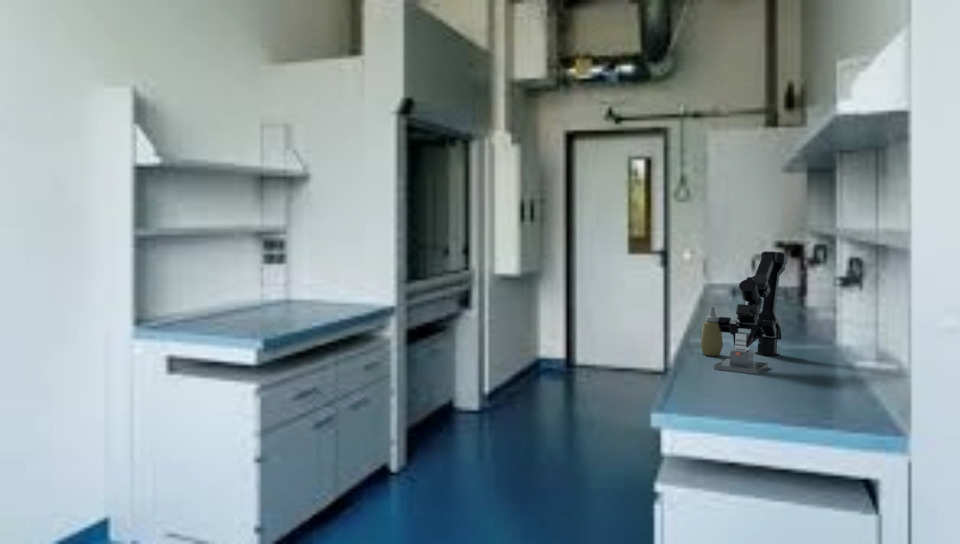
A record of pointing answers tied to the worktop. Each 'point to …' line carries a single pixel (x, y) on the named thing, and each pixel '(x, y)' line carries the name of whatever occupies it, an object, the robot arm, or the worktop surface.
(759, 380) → the worktop surface
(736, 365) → the stand
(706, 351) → the squeeze bottle
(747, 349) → the block
